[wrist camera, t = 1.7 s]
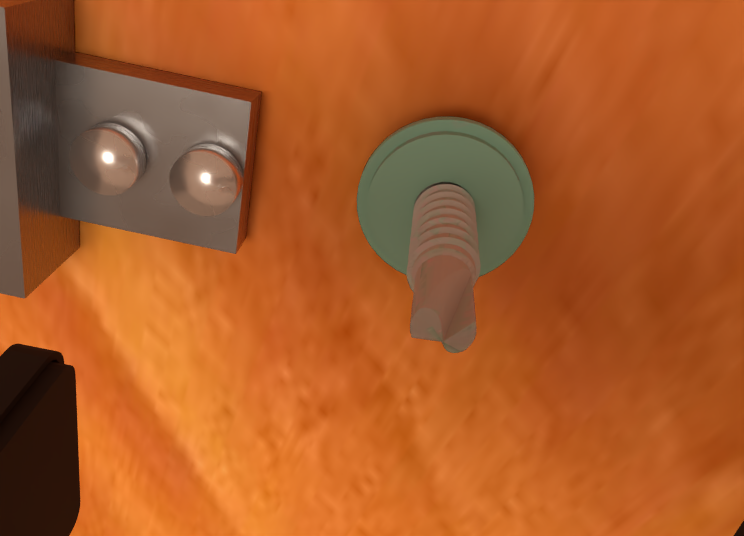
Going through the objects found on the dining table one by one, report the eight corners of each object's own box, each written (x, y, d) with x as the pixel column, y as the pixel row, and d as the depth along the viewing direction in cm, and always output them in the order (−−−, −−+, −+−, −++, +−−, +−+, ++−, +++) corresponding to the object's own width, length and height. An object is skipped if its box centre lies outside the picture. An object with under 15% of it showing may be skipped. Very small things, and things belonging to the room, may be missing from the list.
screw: (341, 130, 21) (501, 75, 20) (396, 268, 23) (543, 226, 22) (277, 268, 13) (537, 192, 12) (368, 459, 15) (598, 410, 14)
